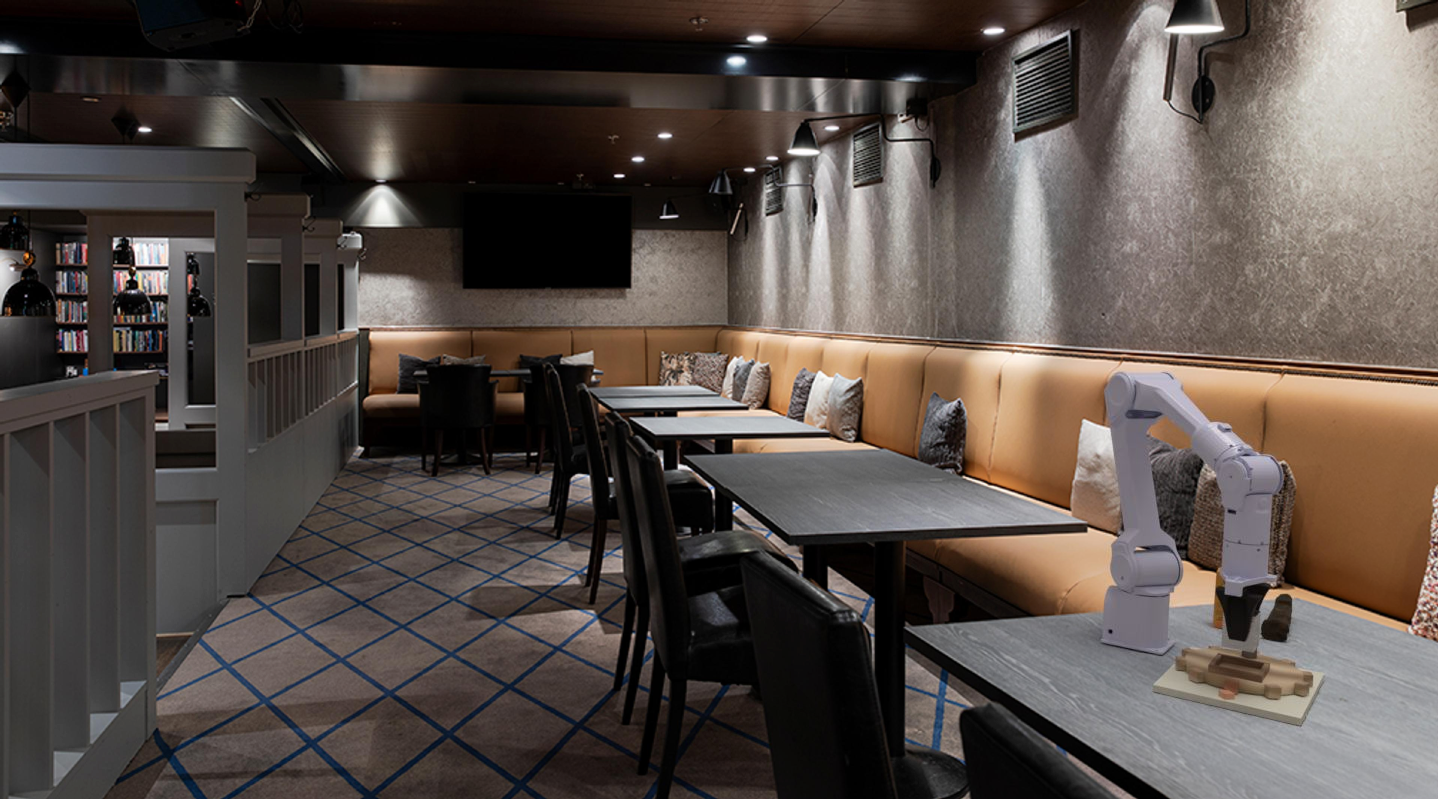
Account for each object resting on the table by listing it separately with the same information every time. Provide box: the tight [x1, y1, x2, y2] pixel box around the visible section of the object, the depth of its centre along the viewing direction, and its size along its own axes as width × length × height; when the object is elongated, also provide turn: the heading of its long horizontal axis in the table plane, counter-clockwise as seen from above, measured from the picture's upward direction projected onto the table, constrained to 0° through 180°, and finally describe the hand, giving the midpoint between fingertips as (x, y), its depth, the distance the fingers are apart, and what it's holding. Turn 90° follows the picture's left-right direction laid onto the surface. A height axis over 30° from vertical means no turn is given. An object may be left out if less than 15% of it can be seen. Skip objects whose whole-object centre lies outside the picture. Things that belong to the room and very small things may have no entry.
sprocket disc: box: [1174, 645, 1313, 699], centre depth 140 cm, size 17×17×5 cm
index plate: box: [1152, 646, 1326, 727], centre depth 139 cm, size 18×22×2 cm
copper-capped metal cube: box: [1220, 610, 1262, 652], centre depth 137 cm, size 4×4×5 cm
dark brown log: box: [1259, 593, 1293, 643], centre depth 167 cm, size 19×4×5 cm, turn 142°
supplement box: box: [1212, 566, 1225, 629], centre depth 167 cm, size 3×3×10 cm
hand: (1240, 636), depth 137 cm, fingers closed on copper-capped metal cube, 4 cm apart
